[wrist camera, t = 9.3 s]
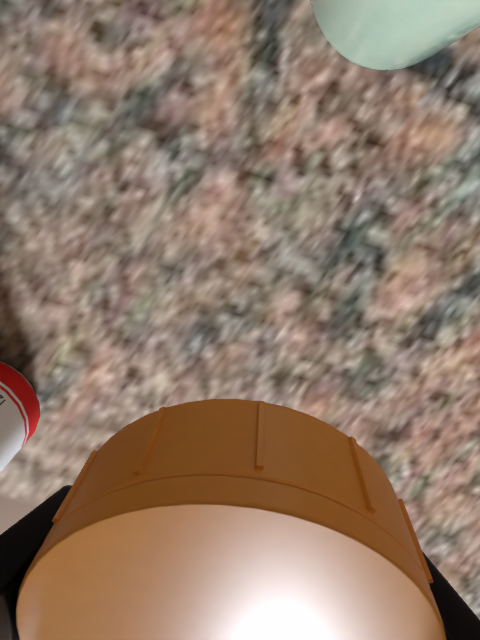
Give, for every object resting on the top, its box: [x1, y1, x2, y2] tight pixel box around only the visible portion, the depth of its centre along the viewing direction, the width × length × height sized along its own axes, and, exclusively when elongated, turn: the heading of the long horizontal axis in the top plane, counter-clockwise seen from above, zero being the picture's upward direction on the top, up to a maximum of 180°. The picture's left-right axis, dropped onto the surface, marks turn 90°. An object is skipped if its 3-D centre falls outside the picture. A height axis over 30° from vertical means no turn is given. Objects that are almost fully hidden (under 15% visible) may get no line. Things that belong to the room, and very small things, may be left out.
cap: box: [16, 399, 446, 640], centre depth 8 cm, size 7×7×2 cm
